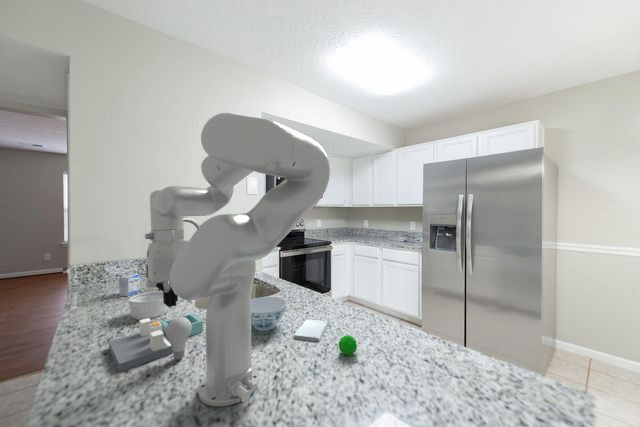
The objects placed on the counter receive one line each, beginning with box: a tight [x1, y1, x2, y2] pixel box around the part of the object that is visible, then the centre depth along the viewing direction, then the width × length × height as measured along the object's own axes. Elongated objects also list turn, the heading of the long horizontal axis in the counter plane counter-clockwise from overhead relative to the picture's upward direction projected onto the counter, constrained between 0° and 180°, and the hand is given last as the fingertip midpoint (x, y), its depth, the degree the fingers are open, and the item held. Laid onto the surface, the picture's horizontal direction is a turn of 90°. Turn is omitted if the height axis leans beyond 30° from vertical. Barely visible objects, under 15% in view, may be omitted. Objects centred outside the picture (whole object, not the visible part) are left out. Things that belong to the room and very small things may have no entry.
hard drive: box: [293, 318, 329, 343], centre depth 85 cm, size 2×8×12 cm
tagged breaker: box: [149, 321, 162, 338], centre depth 76 cm, size 3×2×4 cm
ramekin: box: [128, 290, 169, 320], centre depth 99 cm, size 13×13×7 cm
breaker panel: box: [108, 318, 173, 373], centre depth 73 cm, size 16×12×6 cm
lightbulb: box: [166, 316, 192, 361], centre depth 69 cm, size 6×6×11 cm
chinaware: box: [251, 296, 288, 332], centre depth 88 cm, size 15×15×8 cm
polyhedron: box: [338, 334, 358, 356], centre depth 71 cm, size 5×5×5 cm
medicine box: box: [118, 273, 141, 297], centre depth 124 cm, size 8×4×9 cm, turn 179°
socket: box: [160, 313, 204, 339], centre depth 84 cm, size 10×10×4 cm
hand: (170, 305), depth 69 cm, fingers closed
